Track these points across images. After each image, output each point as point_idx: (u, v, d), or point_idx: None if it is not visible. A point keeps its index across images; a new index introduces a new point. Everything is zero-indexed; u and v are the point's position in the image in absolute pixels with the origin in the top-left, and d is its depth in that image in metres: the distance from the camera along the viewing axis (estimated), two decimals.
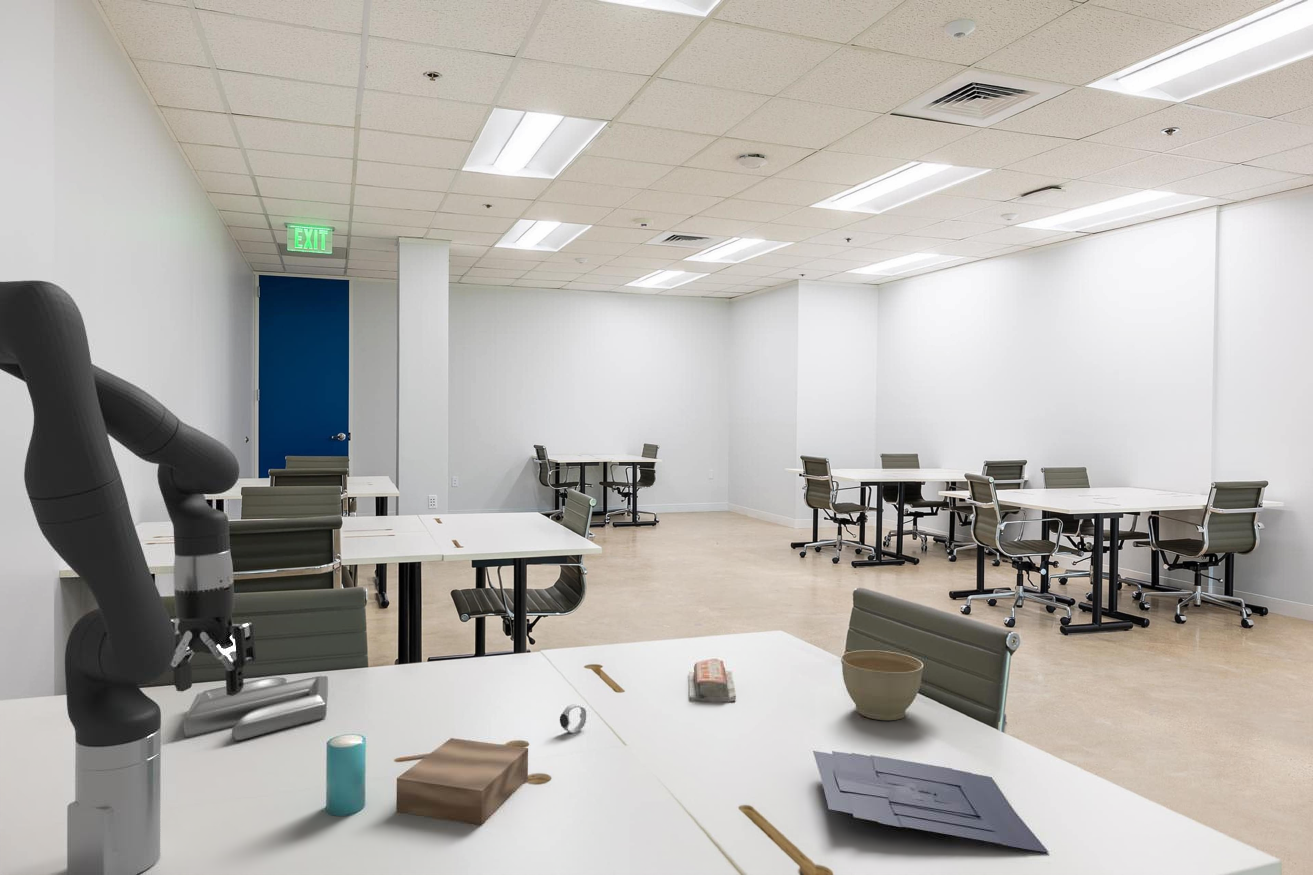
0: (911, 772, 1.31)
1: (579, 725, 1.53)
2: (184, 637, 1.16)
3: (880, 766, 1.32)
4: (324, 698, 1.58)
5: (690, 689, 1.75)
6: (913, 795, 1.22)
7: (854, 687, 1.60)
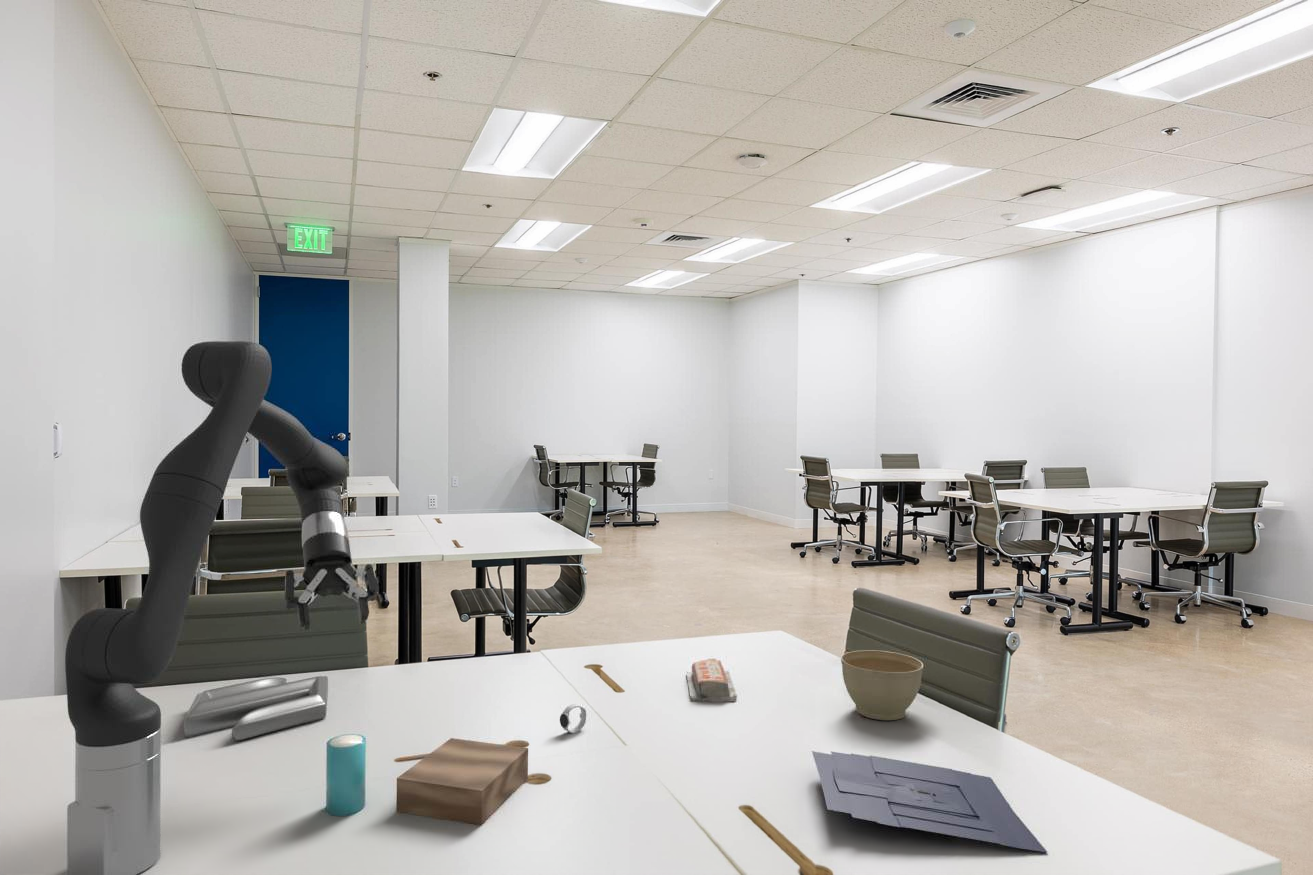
0: (910, 773, 1.31)
1: (579, 725, 1.53)
2: (318, 574, 1.34)
3: (879, 766, 1.32)
4: (324, 698, 1.58)
5: (690, 689, 1.75)
6: (912, 795, 1.22)
7: (854, 687, 1.60)
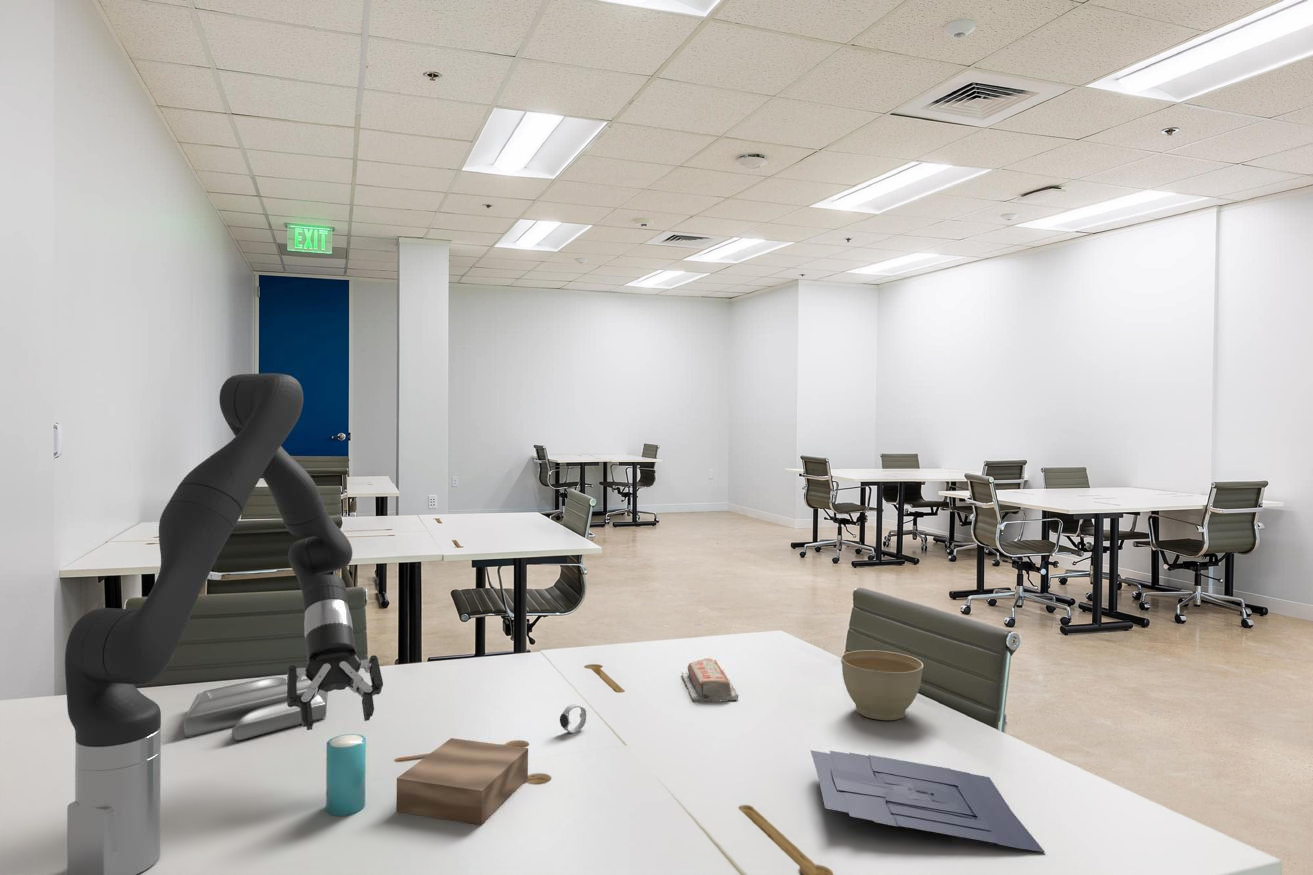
0: (908, 772, 1.31)
1: (579, 725, 1.53)
2: (321, 669, 1.29)
3: (878, 766, 1.32)
4: (324, 698, 1.58)
5: (690, 690, 1.74)
6: (910, 794, 1.22)
7: (854, 687, 1.60)
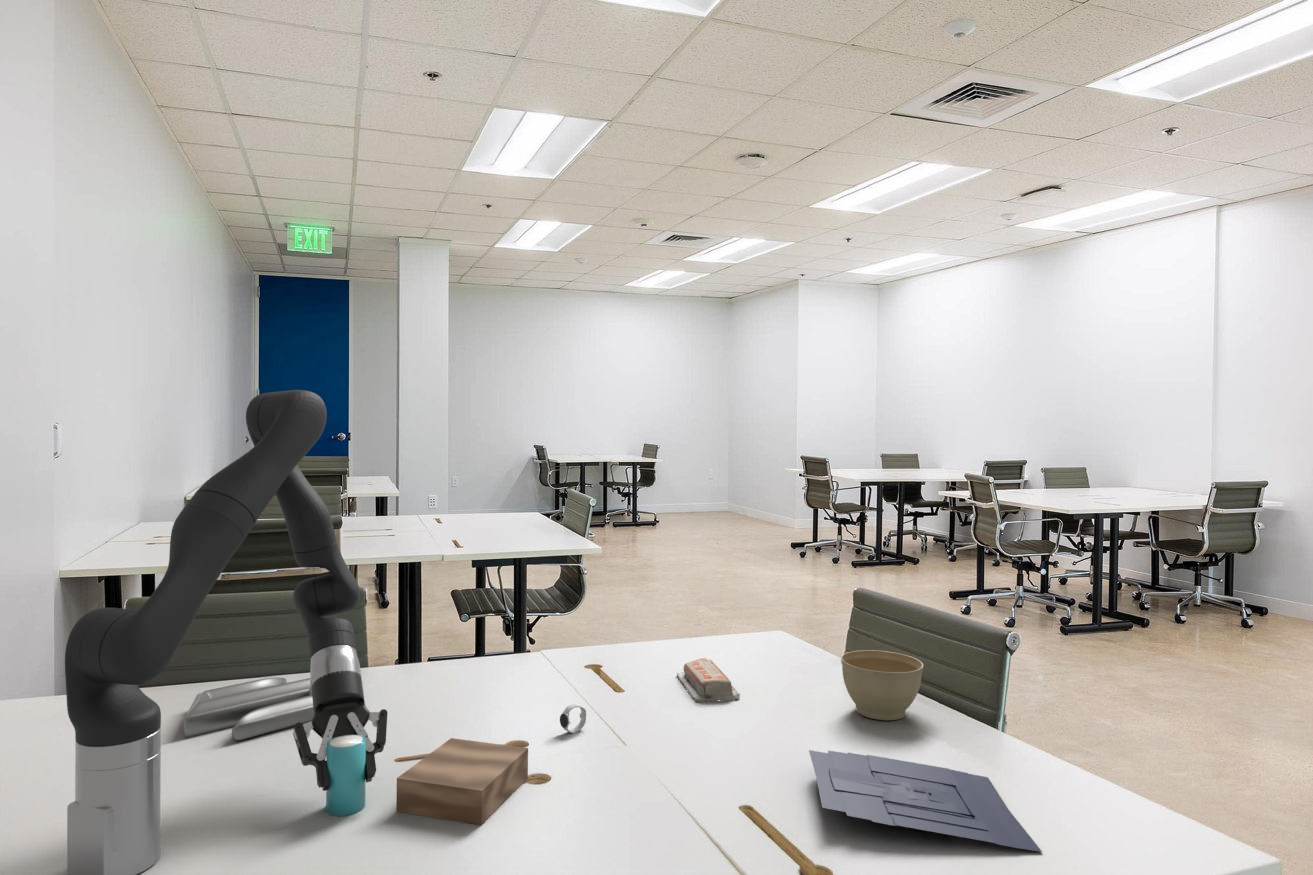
0: (907, 772, 1.31)
1: (579, 725, 1.53)
2: (329, 723, 1.23)
3: (876, 766, 1.32)
4: None
5: (691, 690, 1.74)
6: (908, 794, 1.22)
7: (854, 687, 1.60)
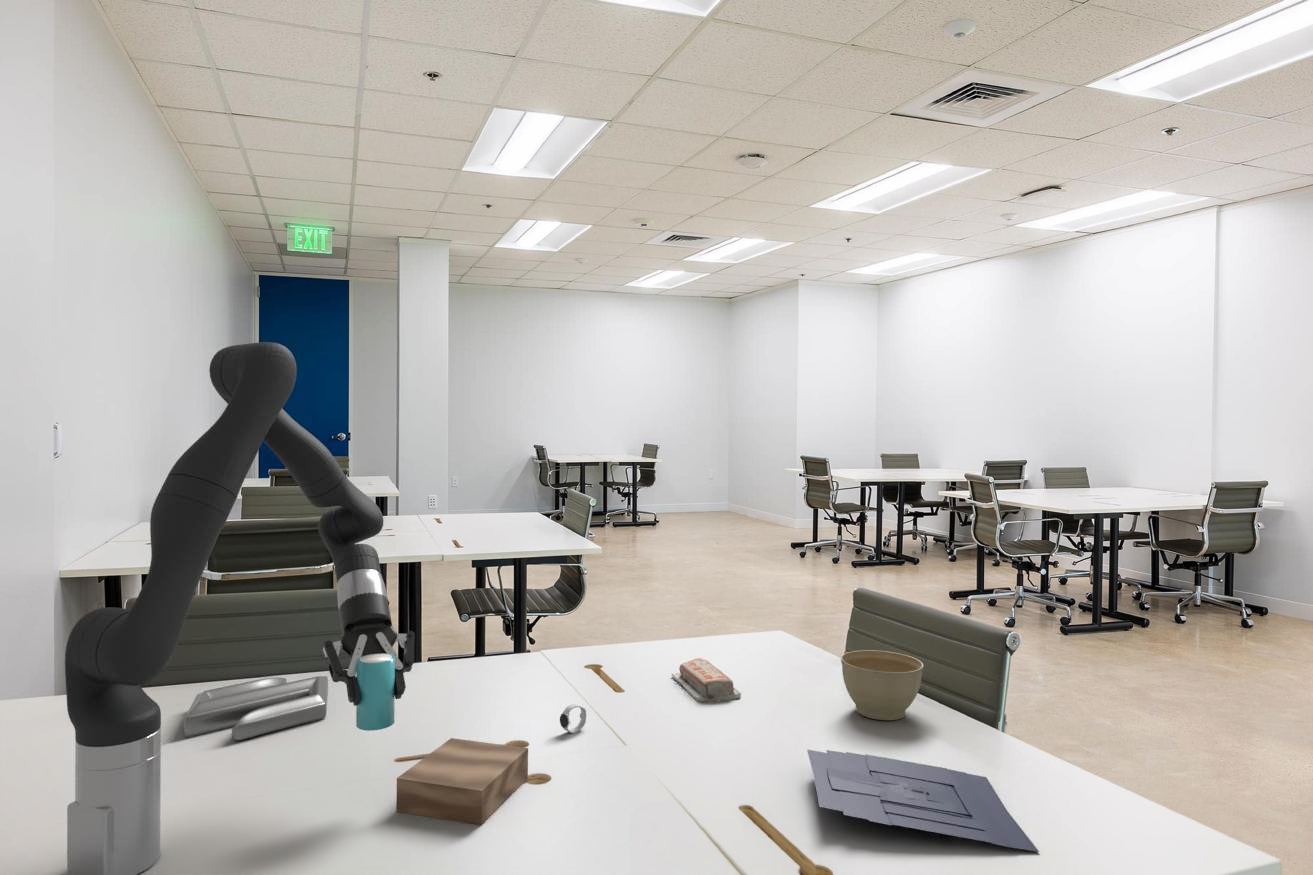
0: (905, 771, 1.31)
1: (579, 725, 1.53)
2: (359, 641, 1.24)
3: (874, 765, 1.32)
4: (324, 698, 1.58)
5: (691, 691, 1.74)
6: (906, 794, 1.23)
7: (854, 687, 1.60)
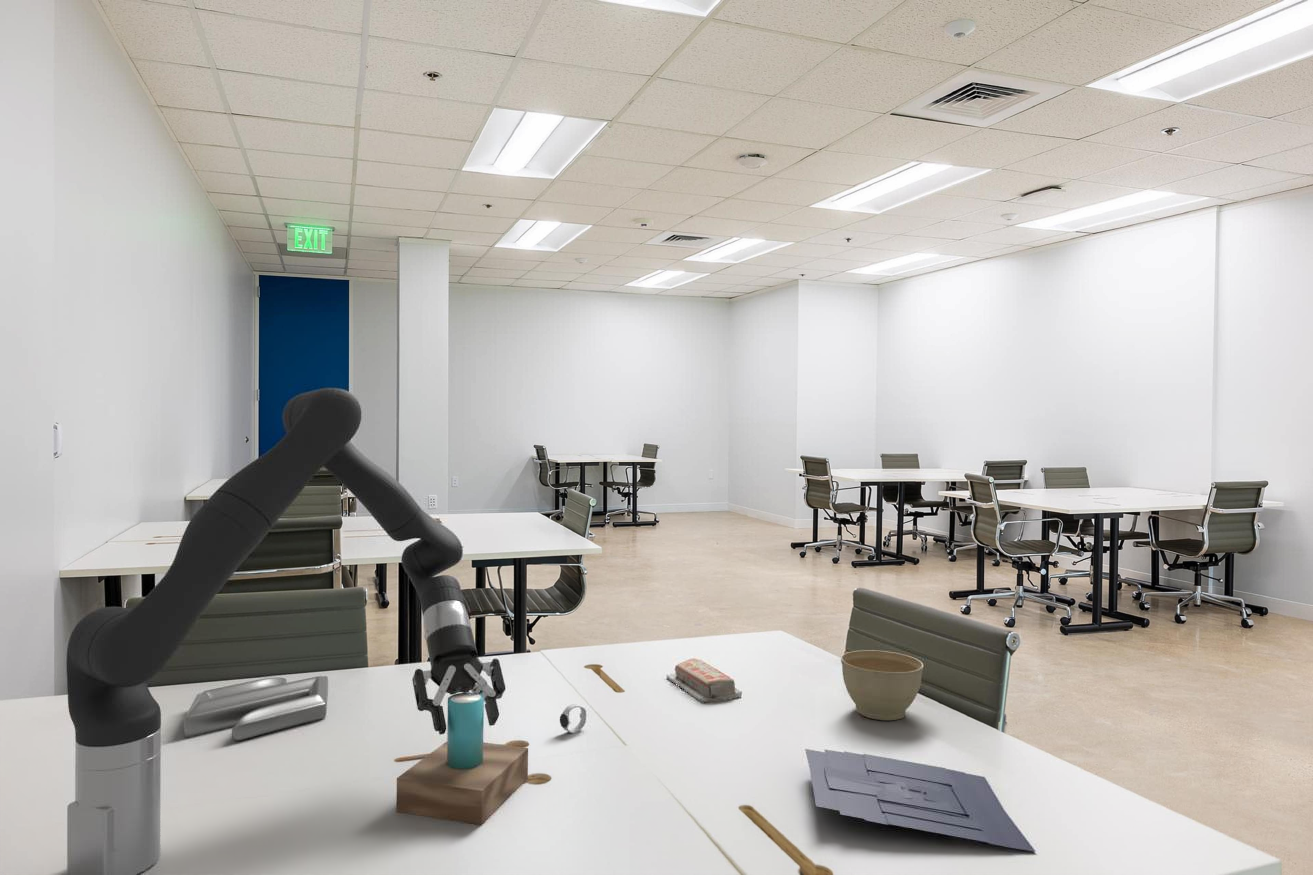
0: (903, 771, 1.31)
1: (579, 725, 1.53)
2: (447, 672, 1.27)
3: (872, 765, 1.32)
4: (324, 698, 1.58)
5: (692, 692, 1.73)
6: (903, 793, 1.23)
7: (854, 687, 1.60)
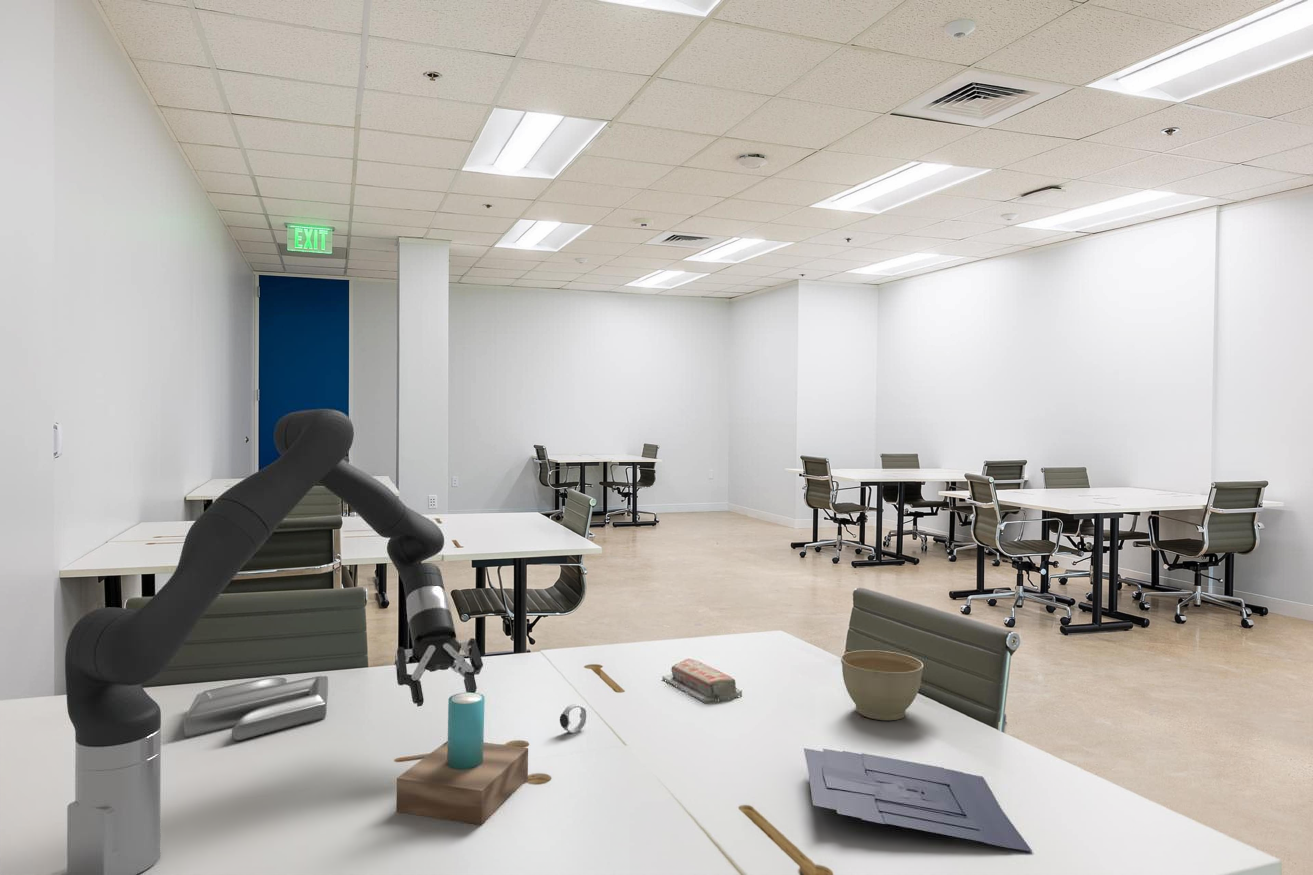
0: (901, 771, 1.32)
1: (579, 725, 1.53)
2: (427, 650, 1.38)
3: (870, 764, 1.32)
4: (324, 698, 1.58)
5: (693, 692, 1.73)
6: (900, 793, 1.23)
7: (854, 687, 1.60)
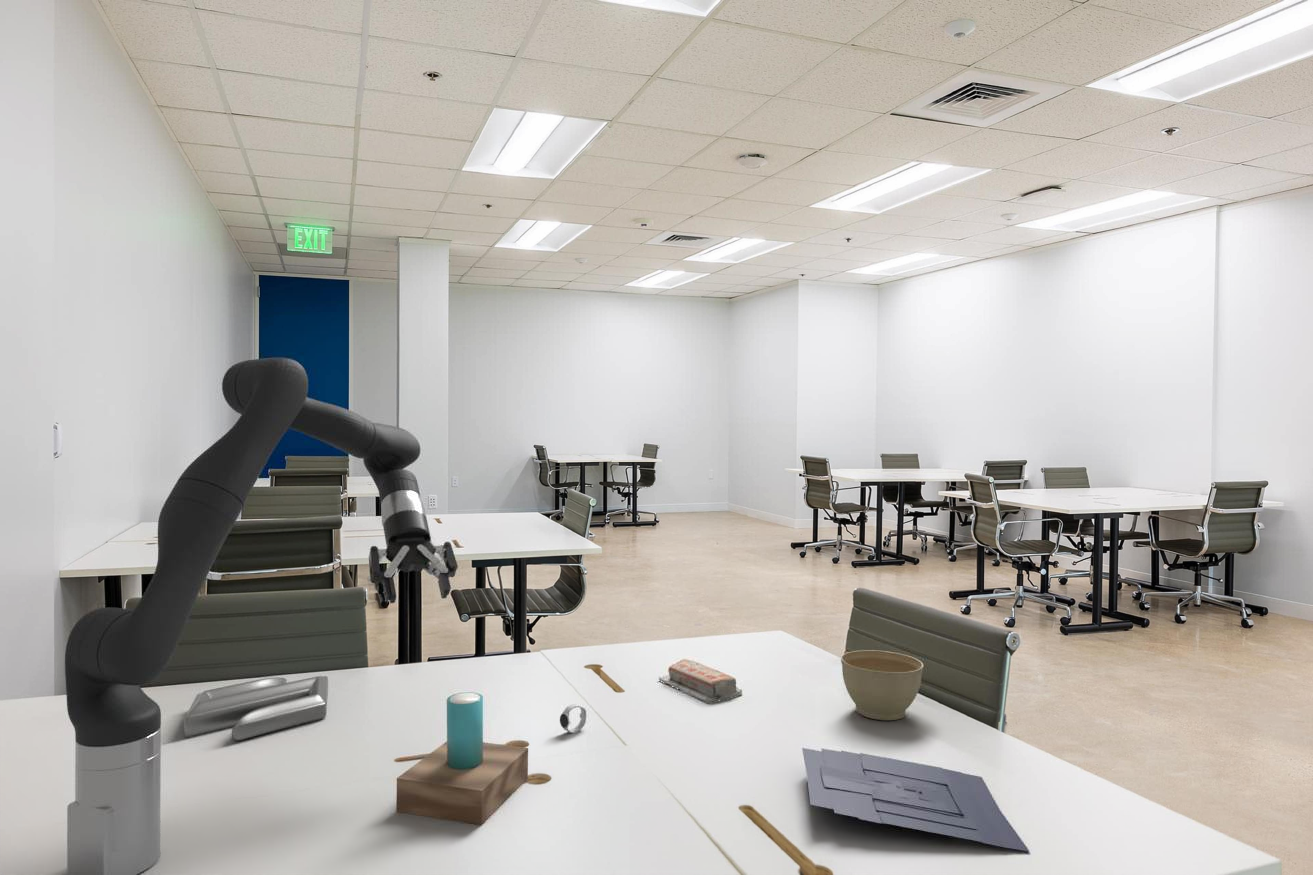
0: (899, 770, 1.32)
1: (579, 725, 1.53)
2: (401, 550, 1.37)
3: (868, 764, 1.33)
4: (324, 698, 1.58)
5: (694, 693, 1.73)
6: (898, 792, 1.23)
7: (854, 687, 1.60)
